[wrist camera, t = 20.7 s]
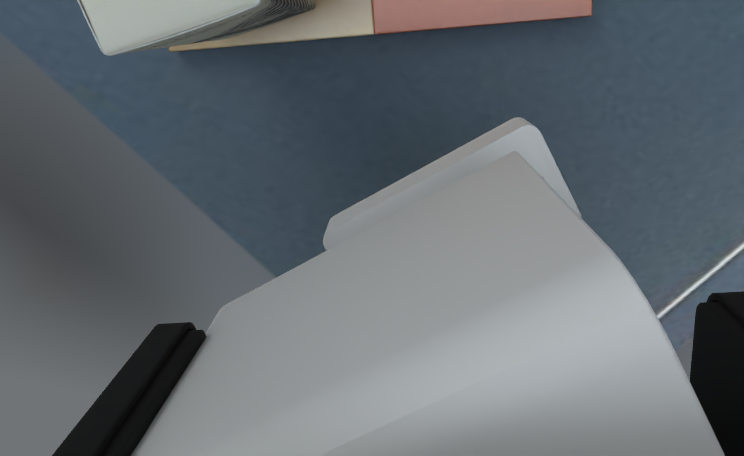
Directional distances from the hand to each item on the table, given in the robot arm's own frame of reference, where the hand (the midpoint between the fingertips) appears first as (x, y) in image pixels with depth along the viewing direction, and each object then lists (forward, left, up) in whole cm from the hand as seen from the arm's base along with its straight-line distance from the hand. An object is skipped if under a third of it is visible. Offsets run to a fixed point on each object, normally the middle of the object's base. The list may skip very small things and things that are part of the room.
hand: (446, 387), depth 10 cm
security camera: (0, 0, -6) cm, 6 cm away
